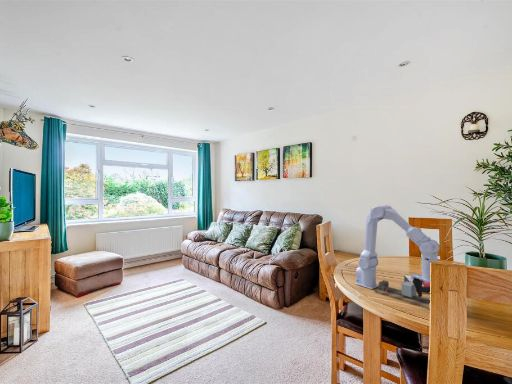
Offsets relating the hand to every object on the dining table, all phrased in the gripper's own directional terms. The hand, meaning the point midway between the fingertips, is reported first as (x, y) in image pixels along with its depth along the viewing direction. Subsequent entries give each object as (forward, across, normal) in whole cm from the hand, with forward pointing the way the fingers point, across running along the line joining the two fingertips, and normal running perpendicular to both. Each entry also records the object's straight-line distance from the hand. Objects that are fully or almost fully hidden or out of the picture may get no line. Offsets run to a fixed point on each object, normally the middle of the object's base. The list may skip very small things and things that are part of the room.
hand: (430, 299), depth 106 cm
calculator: (+3, -11, +20) cm, 23 cm away
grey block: (+1, -8, 0) cm, 8 cm away
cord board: (+3, -9, 0) cm, 10 cm away
